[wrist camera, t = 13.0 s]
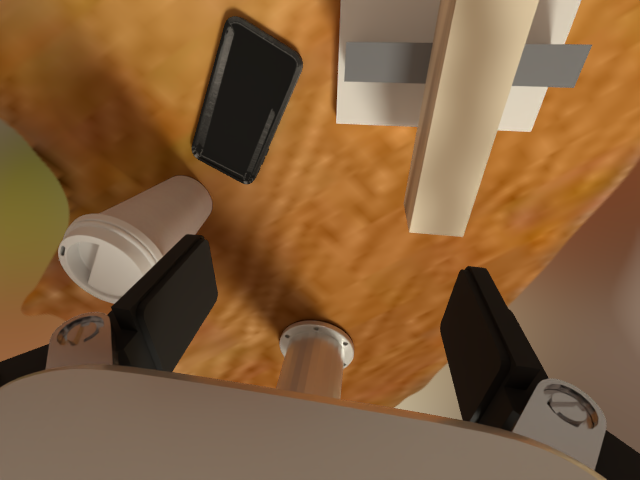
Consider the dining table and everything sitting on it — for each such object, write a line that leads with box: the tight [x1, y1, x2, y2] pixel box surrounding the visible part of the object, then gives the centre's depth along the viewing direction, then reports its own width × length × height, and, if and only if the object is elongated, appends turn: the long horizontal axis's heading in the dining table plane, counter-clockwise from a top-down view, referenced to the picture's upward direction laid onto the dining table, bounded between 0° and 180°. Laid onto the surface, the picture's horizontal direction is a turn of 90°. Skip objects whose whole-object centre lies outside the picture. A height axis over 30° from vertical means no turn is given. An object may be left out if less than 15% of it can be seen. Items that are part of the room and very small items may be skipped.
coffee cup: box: [58, 176, 212, 304], centre depth 33 cm, size 10×10×15 cm
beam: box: [404, 0, 539, 237], centre depth 19 cm, size 4×22×5 cm, turn 179°
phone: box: [192, 16, 303, 184], centre depth 32 cm, size 8×1×15 cm
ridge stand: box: [336, 0, 592, 132], centre depth 24 cm, size 11×18×7 cm, turn 89°
